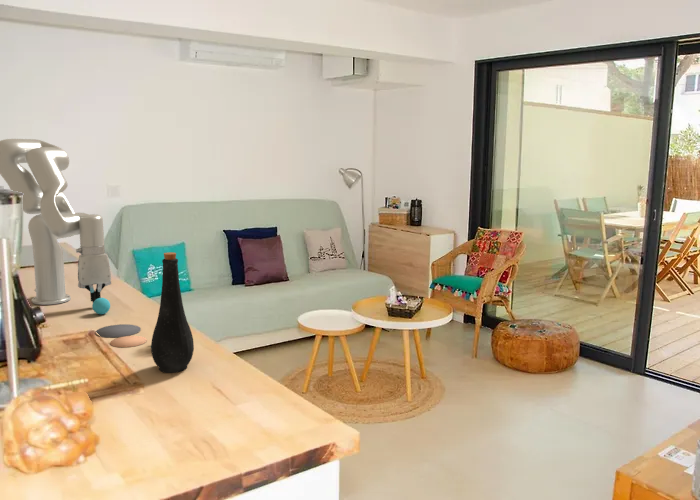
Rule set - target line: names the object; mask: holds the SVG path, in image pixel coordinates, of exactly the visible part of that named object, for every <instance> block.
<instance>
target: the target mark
mask: <svg viewBox="0 0 700 500" xmlns="http://www.w3.org/2000/svg"><path fill="white" fill-rule="evenodd" d="M141 331H142V330H141V327H140V326H138V325H135V324H127V323H125V324H111V325H106V326H103V327H100V328H98V329H97V330H95V332H97V333H98V334H99V335H100V336H101V337H102V338H108V339H109V338H110V339H113V338H114V339H116V338H119V337H125V336H135V334H136V335H137V334H138V333H140V332H141ZM100 336H99V337H100ZM101 337H100V338H101Z"/></svg>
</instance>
